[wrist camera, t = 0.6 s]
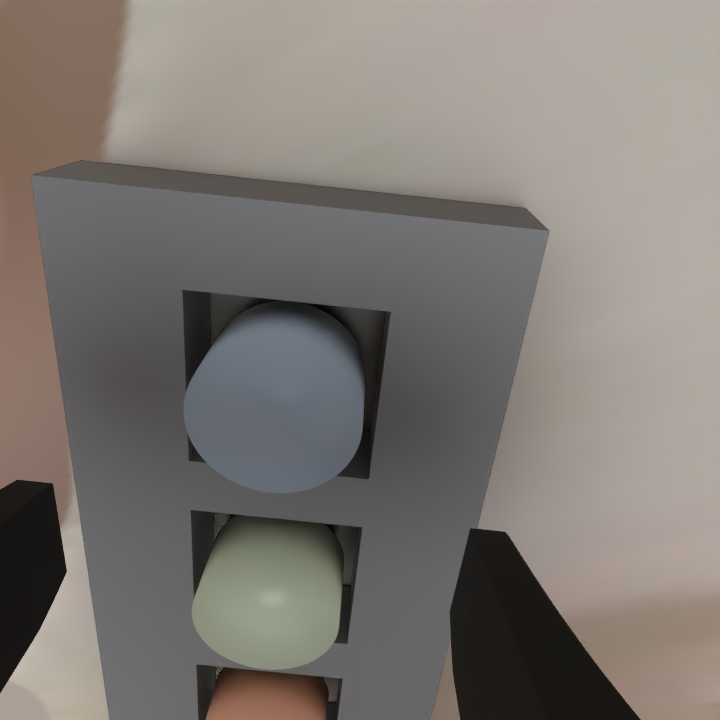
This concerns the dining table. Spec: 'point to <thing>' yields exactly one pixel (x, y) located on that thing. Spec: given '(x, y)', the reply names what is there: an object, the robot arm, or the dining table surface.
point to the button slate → (278, 399)
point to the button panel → (218, 494)
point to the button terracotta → (267, 696)
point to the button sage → (271, 592)
